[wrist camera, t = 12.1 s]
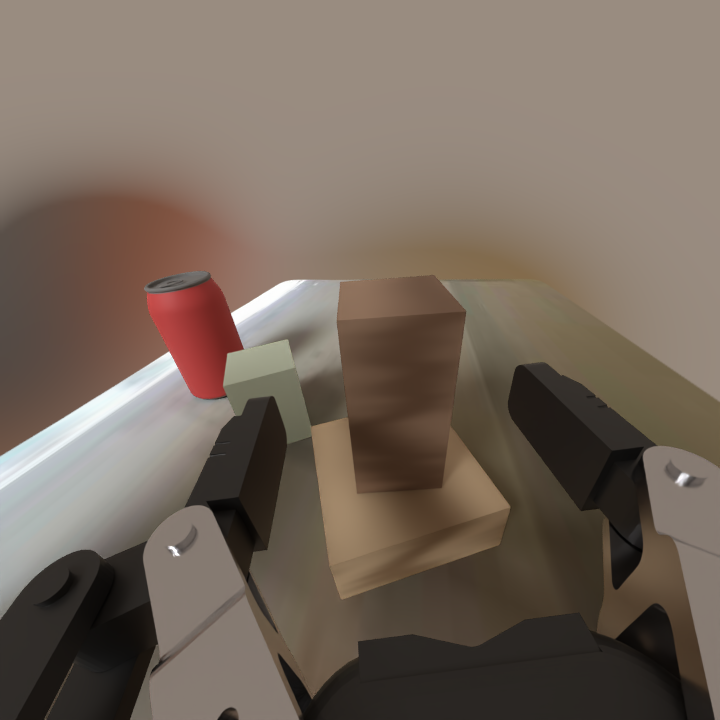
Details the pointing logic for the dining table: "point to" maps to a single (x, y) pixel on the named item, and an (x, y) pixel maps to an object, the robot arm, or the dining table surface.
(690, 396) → the dining table surface
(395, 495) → the oak base block
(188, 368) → the beer can
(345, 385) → the walnut pillar
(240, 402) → the sage green block
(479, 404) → the dining table surface
